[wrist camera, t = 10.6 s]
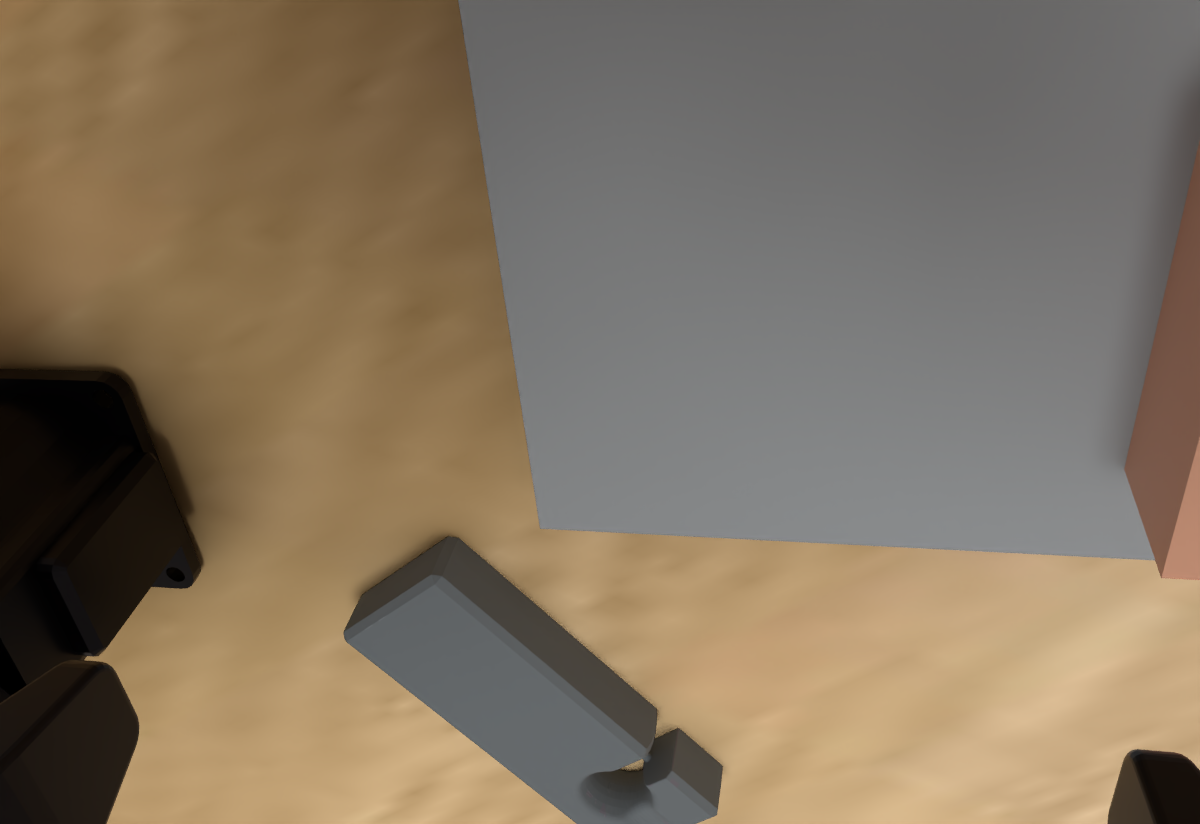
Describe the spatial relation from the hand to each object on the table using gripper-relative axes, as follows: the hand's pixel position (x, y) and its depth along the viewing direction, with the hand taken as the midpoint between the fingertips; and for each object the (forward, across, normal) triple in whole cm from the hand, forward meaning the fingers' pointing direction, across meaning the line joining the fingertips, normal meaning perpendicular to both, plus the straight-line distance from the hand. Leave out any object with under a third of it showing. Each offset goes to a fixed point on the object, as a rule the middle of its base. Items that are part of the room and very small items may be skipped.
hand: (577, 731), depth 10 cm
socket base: (+13, -6, +2) cm, 14 cm away
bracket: (+14, +5, +15) cm, 21 cm away
